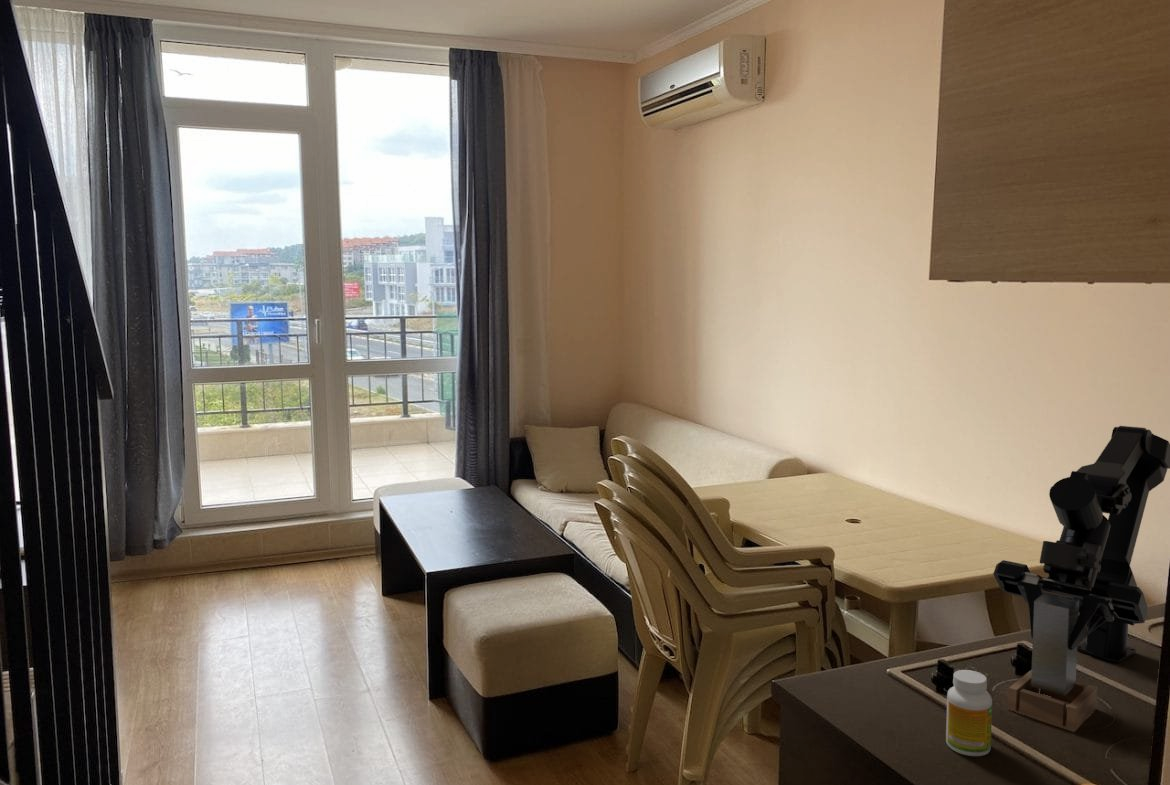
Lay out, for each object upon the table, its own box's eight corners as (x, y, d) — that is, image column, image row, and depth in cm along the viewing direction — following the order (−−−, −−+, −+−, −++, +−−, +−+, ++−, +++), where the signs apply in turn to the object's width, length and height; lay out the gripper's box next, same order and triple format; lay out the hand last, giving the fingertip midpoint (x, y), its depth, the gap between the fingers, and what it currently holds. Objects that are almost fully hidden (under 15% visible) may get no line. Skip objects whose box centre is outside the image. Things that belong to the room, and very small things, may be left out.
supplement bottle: (995, 759, 111) (997, 687, 110) (950, 755, 112) (952, 684, 111) (985, 737, 116) (987, 668, 115) (942, 734, 117) (943, 665, 116)
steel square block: (1042, 675, 126) (1045, 592, 124) (1075, 684, 123) (1079, 599, 121) (1031, 685, 123) (1034, 600, 121) (1065, 696, 119) (1068, 608, 118)
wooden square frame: (1031, 691, 129) (1032, 668, 129) (1096, 711, 123) (1097, 687, 122) (1008, 711, 123) (1009, 687, 123) (1074, 734, 117) (1075, 708, 117)
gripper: (1000, 507, 129) (967, 599, 123) (1146, 530, 116) (1117, 635, 109) (1018, 545, 135) (988, 635, 129) (1158, 572, 122) (1132, 673, 116)
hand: (1051, 643), depth 121 cm, fingers closed on steel square block, 4 cm apart
